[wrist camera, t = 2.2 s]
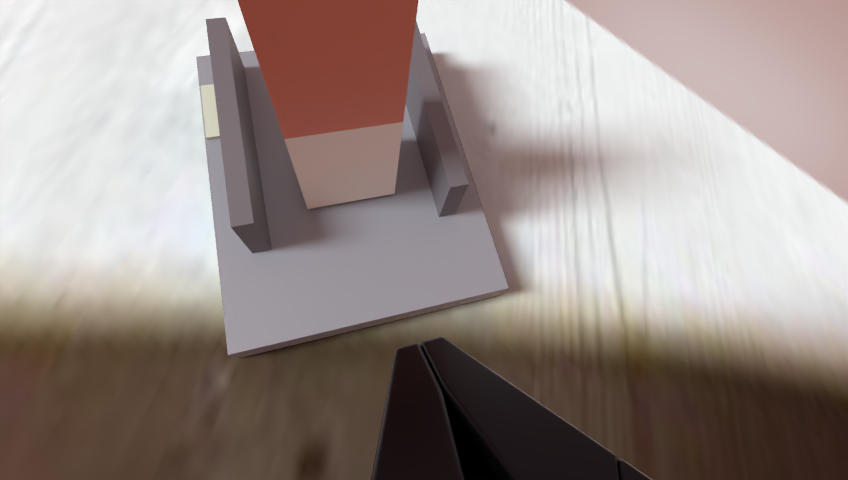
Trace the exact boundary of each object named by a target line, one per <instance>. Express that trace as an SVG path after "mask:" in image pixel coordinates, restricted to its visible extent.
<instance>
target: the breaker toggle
mask: <svg viewBox="0 0 848 480" xmlns="http://www.w3.org/2000/svg"><path fill="white" fill-rule="evenodd" d="M238 3H239V5H240V8H241V11H242V14H243V17H244V20H245V23H246V26H247V29H248V32H249V35H250V38H251V41H252V44H253V47H254V50H255V53H256V56H257V59H258V62H259V65H260V68H261V71H262V74H263V77H264V80H265V83H266V86H267V89H268V92H269V95H270V98H271V101H272V104H273V107H274V110H275V113H276V116H277V119H278V122H279V125H280V128H281V131H282V134H283V137H284V140H285V143H286V146H287V149H288V152H289V155H290V158H291V161H292V164H293V167H294V170H295V173H296V176H297V179H298V182H299V185H300V188H301V191H302V194H303V197H304V200H305V203H306V206H307V209H312V208H317V207H323V206H329V205H334V204H340V203H345V202H351V201H356V200H362V199H368V198H373V197H379V196H384V195H390V194H395V186H396V177H397V169H398V161H399V153H400V145H401V137H402V128H403V120H404V112H405V104H406V96H407V88H408V79H409V71H410V63H411V55H412V47H413V39H414V30H415V22H416V14H417V6H418V0H238Z"/></svg>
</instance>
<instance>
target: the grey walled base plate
mask: <svg viewBox="0 0 848 480" xmlns="http://www.w3.org/2000/svg"><path fill="white" fill-rule="evenodd" d="M206 24H207V32H208V41H209V49H210V55H209V56H199V57H196V58H197V68H198V77H199V86H200V96H201V105H202V115H203V124H204V133H205V143H206V152H207V162H208V171H209V181H210V190H211V199H212V209H213V218H214V228H215V237H216V247H217V256H218V265H219V275H220V284H221V294H222V303H223V313H224V322H225V331H226V341H227V350H228V355H230V356H233V357H237V358H242V357H246V356H250V355H254V354H258V353H263V352H267V351H271V350H275V349H279V348H283V347H287V346H292V345H296V344H300V343H304V342H308V341H312V340H317V339H321V338H325V337H329V336H333V335H337V334H341V333H346V332H350V331H354V330H358V329H362V328H366V327H370V326H375V325H379V324H383V323H387V322H391V321H395V320H399V319H404V318H408V317H412V316H416V315H420V314H424V313H428V312H433V311H437V310H441V309H445V308H449V307H453V306H458V305H462V304H466V303H470V302H474V301H478V300H482V299H487V298H491V297H495V296H499V295H500V294H502V293H503V292H504V291H506V290H507V289H508V288H509V287H508V284H507V281H506V278H505V275H504V272H503V269H502V266H501V263H500V260H499V257H498V254H497V251H496V248H495V245H494V242H493V238H492V235H491V232H490V229H489V226H488V223H487V220H486V217H485V214H484V211H483V208H482V205H481V202H480V199H479V196H478V193H477V190H476V187H475V184H474V181H473V178H472V175H471V172H470V169H469V166H468V163H467V160H466V157H465V154H464V151H463V148H462V145H461V141H460V138H459V135H458V132H457V129H456V126H455V123H454V120H453V117H452V114H451V111H450V108H449V105H448V102H447V99H446V96H445V93H444V90H443V87H442V84H441V81H440V78H439V75H438V72H437V69H436V66H435V63H434V60H433V57H432V54H431V51H430V48H429V44H428V41H427V38H426V35H425V33H423V34H420V32H419V29H418V26H417V22H415V30H414V39H413V47H412V55H411V63H410V71H409V79H408V88H407V96H406V104H405V112H404V120H403V128H402V137H401V145H400V153H399V161H398V169H397V177H396V186H395V194H390V195H384V196H379V197H373V198H368V199H362V200H356V201H351V202H345V203H340V204H334V205H329V206H323V207H317V208H312V209H307V206H306V203H305V200H304V197H303V194H302V191H301V188H300V185H299V182H298V179H297V176H296V173H295V170H294V167H293V164H292V161H291V158H290V155H289V152H288V149H287V146H286V143H285V140H284V137H283V134H282V131H281V128H280V125H279V122H278V119H277V116H276V113H275V110H274V107H273V104H272V101H271V98H270V95H269V92H268V89H267V86H266V83H265V80H264V77H263V74H262V71H261V68H260V65H259V62H258V59H257V56H256V53H255V51H248V52H238V50H237V47H236V44H235V42H234V39H233V37H232V34H231V31H230V29H229V26H228V23H227V21H226V18H215V19H206Z"/></svg>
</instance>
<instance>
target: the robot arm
mask: <svg viewBox="0 0 848 480" xmlns="http://www.w3.org/2000/svg"><path fill="white" fill-rule="evenodd" d="M371 480H653V479H651V478H649V477H648V476H647V475H645V474H644V473H642V472H641V471H639V470H638V469H636V468H635V467H633V466H632V465H630V464H629V463H627V462H626V461H625V460H623V459H619V460H618V461H617V456H616V455H615V454H614V453H612V452H611V451H609V450H608V449H607V448H605V447H604V446H602V445H601V444H599V443H598V442H596V441H595V440H593V439H592V438H590V437H589V436H588V435H586V434H585V433H583V432H582V431H580V430H579V429H577V428H576V427H574V426H573V425H571V424H570V423H568V422H567V421H566V420H564V419H563V418H561V417H560V416H558V415H557V414H555V413H554V412H552V411H551V410H549V409H548V408H547V407H545V406H544V405H542V404H541V403H539V402H538V401H536V400H535V399H533V398H532V397H530V396H529V395H527V394H526V393H525V392H523V391H522V390H520V389H519V388H517V387H516V386H514V385H513V384H511V383H510V382H508V381H507V380H505V379H504V378H503V377H501V376H500V375H498V374H497V373H495V372H494V371H492V370H491V369H489V368H488V367H486V366H485V365H484V364H482V363H481V362H479V361H478V360H476V359H475V358H473V357H472V356H470V355H469V354H467V353H466V352H464V351H463V350H462V349H460V348H459V347H457V346H456V345H454V344H453V343H451V342H450V341H448V340H447V339H445V338H443V337H438V338H434V339H430V340H426V341H423V342H422V343H421V345H419V344H417V343H414V344H410V345H406V346H403V347H399V348H397V349H396V351H395V356H394V361H393V367H392V372H391V377H390V382H389V388H388V393H387V398H386V403H385V409H384V414H383V419H382V424H381V430H380V435H379V440H378V445H377V451H376V456H375V461H374V466H373V472H372V477H371Z"/></svg>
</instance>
